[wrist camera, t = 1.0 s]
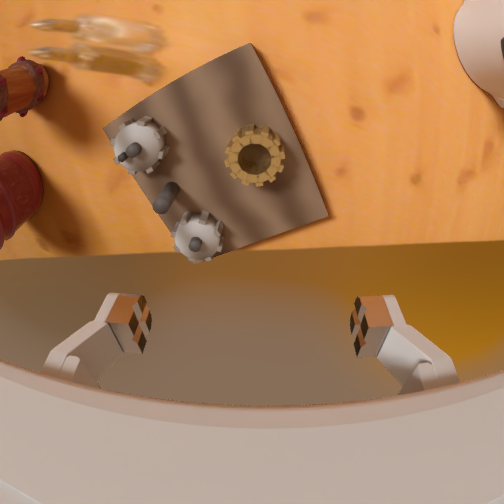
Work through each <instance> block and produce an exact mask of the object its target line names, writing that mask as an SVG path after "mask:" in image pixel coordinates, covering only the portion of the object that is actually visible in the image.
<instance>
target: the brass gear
mask: <svg viewBox="0 0 504 504" xmlns="http://www.w3.org/2000/svg"><path fill="white" fill-rule="evenodd" d="M251 143H253V144H261V145H262V146H264V147H265V148H267V149H268V150H269V152H270V154H271V155H270V157H269V158H268V159H267V161H265V162H263V163H260V164H251V163H249V162H248V161H246V160H245V159H244V158H243V156H242V154H241V149H242V148H243V147H244V146H246V145H249V144H251ZM225 153H226V154H227V156H226V158H225V166H226V167H230V168H231V172H230V175H231V176H232V177H233V178H234V179H236V178H237V177H238V178H240V179H242V183H241V184H244V185H247V186H248V185H249V182H250V183H256V187H258V186H263V182H264V181H266V180H269V181H270V183H271V182H272V181H274V180H275V179H276V172H277V171H278V172H282V170H283V168H284V162H283V159H285V154H284V148H283V143H280V136H279V135H278V134H277V132H276V131H275V132H273V133H271V132H269V127H268V126H266V125H263V124H262V126H261V128H258V127H255V125H254V124H249V125H247V127H246V130H242V129H241V128H240V129H238V130H237V131H236V132H235V133H234V136H233V138H231V139H230V141H229V143H228V145H227V148H226V151H225Z"/></svg>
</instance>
